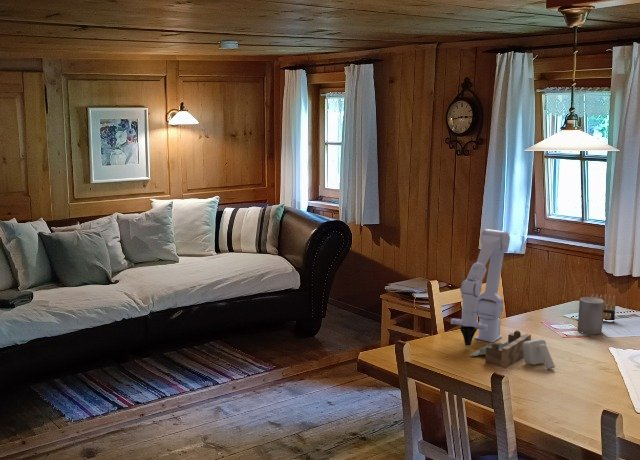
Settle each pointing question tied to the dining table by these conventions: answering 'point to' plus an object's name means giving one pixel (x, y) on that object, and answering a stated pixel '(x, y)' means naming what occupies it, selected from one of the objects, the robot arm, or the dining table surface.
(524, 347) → the grey chunky block
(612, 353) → the dining table surface
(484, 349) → the metal bracket
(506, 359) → the brown crenellated block
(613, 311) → the ammunition clip
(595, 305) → the pillar candle
